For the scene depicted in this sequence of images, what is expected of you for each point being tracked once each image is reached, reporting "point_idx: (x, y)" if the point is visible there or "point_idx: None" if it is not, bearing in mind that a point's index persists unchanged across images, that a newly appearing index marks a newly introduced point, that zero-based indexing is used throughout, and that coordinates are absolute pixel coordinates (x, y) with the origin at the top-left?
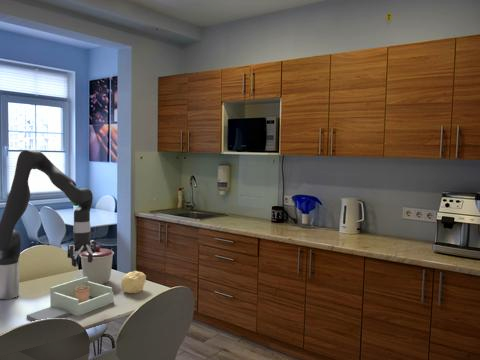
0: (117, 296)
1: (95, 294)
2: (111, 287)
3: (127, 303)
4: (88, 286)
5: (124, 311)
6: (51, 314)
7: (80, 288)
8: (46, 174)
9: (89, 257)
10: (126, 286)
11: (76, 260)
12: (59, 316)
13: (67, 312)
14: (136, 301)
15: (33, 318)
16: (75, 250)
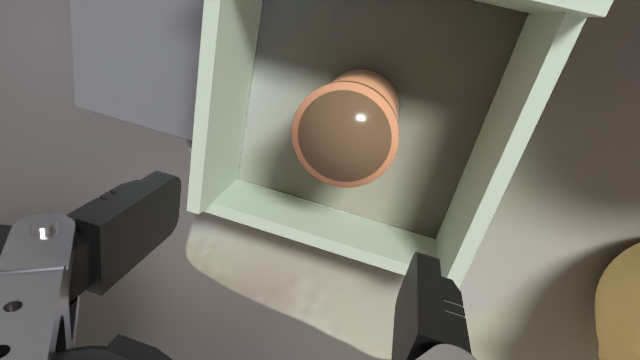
0: (542, 233)
1: (488, 124)
2: None
3: None
4: (387, 162)
5: (348, 340)
6: (141, 81)
7: (325, 133)
8: None
9: (402, 333)
10: (603, 308)
11: (115, 277)
12: (156, 128)
13: None
14: (484, 348)
15: (74, 22)
16: (8, 343)
